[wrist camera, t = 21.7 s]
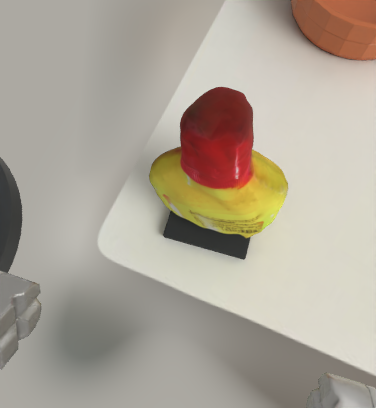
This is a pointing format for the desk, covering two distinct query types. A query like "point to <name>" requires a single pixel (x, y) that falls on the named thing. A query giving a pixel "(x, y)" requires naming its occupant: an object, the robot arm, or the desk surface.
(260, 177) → the bottle
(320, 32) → the bowl
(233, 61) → the desk surface
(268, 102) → the desk surface
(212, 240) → the mat
